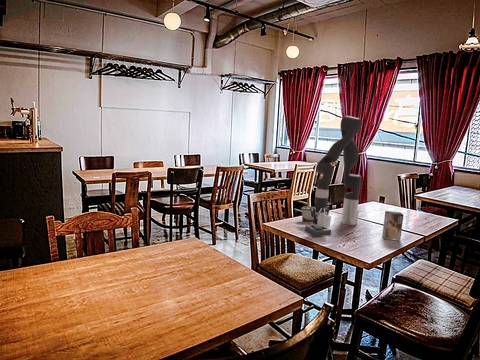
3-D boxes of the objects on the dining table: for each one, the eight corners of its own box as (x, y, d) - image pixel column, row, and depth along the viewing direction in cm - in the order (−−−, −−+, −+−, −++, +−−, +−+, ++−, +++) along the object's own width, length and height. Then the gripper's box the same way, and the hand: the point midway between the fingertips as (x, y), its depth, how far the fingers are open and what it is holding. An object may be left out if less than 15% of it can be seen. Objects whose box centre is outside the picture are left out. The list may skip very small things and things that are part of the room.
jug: (312, 227, 223) (313, 211, 221) (318, 226, 226) (320, 210, 224) (324, 232, 214) (326, 216, 213) (331, 231, 217) (333, 215, 215)
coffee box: (397, 237, 225) (401, 212, 222) (400, 241, 218) (404, 214, 216) (381, 236, 226) (385, 210, 223) (384, 239, 219) (387, 213, 217)
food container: (317, 221, 249) (319, 207, 247) (318, 224, 243) (320, 209, 241) (299, 219, 250) (300, 205, 248) (299, 222, 244) (301, 207, 242)
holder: (321, 227, 236) (322, 221, 235) (341, 237, 218) (342, 231, 217) (294, 228, 228) (295, 223, 228) (312, 239, 210) (313, 233, 210)
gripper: (317, 198, 212) (314, 226, 215) (335, 196, 220) (331, 224, 223) (308, 195, 218) (305, 223, 221) (325, 194, 226) (322, 221, 229)
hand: (318, 223), depth 222 cm, fingers closed on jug, 5 cm apart
